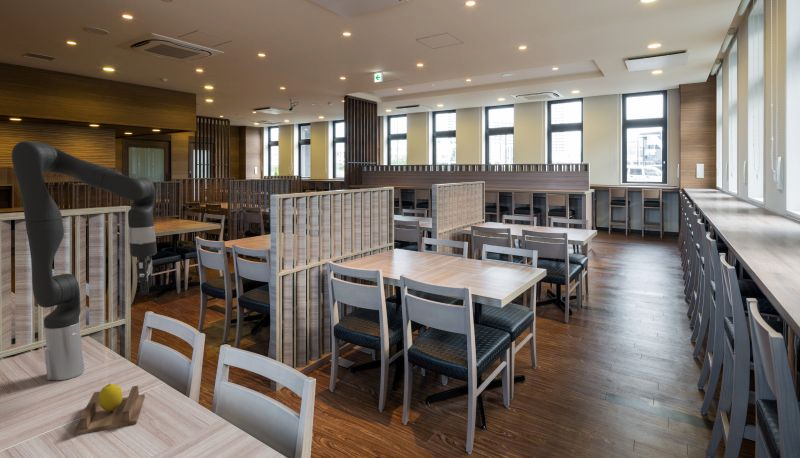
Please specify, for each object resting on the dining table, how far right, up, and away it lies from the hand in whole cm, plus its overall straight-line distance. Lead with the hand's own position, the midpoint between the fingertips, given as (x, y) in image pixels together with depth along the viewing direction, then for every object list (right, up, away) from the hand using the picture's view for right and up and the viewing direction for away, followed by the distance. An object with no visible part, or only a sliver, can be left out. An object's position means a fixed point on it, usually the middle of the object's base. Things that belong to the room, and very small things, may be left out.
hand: (146, 289), depth 149 cm
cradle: (+3, -32, -23) cm, 39 cm away
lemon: (+3, -31, -23) cm, 38 cm away
